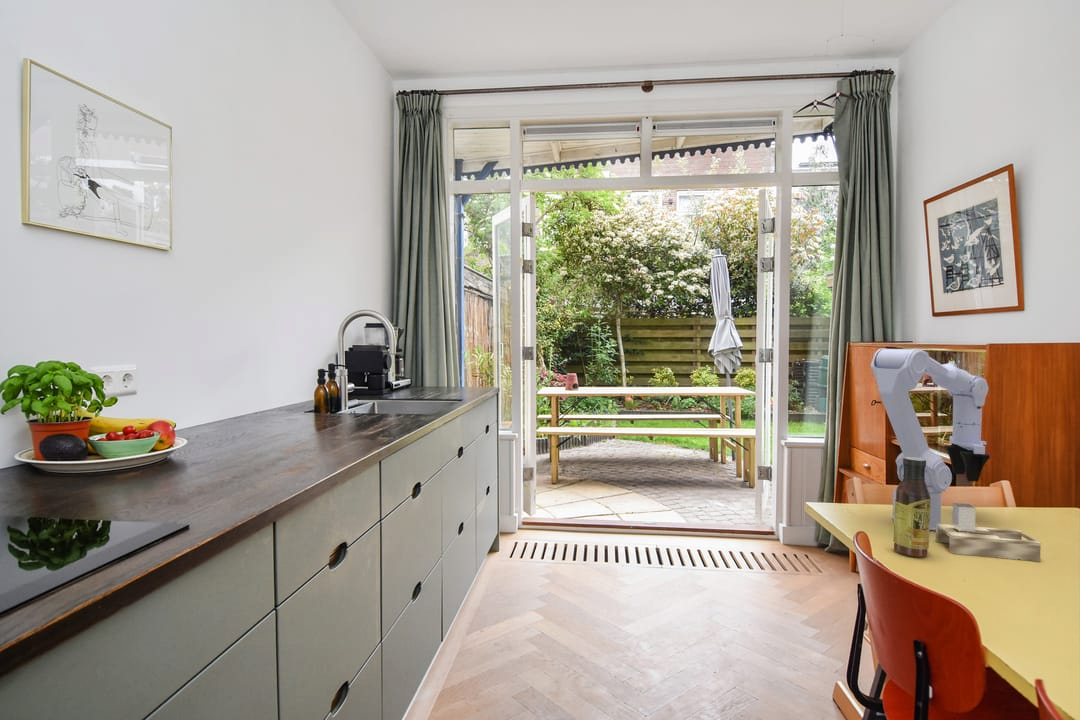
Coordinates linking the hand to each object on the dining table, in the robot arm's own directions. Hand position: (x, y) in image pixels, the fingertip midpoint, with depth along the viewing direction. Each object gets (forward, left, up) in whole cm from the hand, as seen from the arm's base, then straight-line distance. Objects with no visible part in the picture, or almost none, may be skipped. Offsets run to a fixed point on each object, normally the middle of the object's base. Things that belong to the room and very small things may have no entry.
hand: (965, 477), depth 142 cm
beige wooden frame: (-5, -24, -10) cm, 27 cm away
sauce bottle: (-21, -30, -11) cm, 38 cm away
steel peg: (-10, -24, -10) cm, 28 cm away
